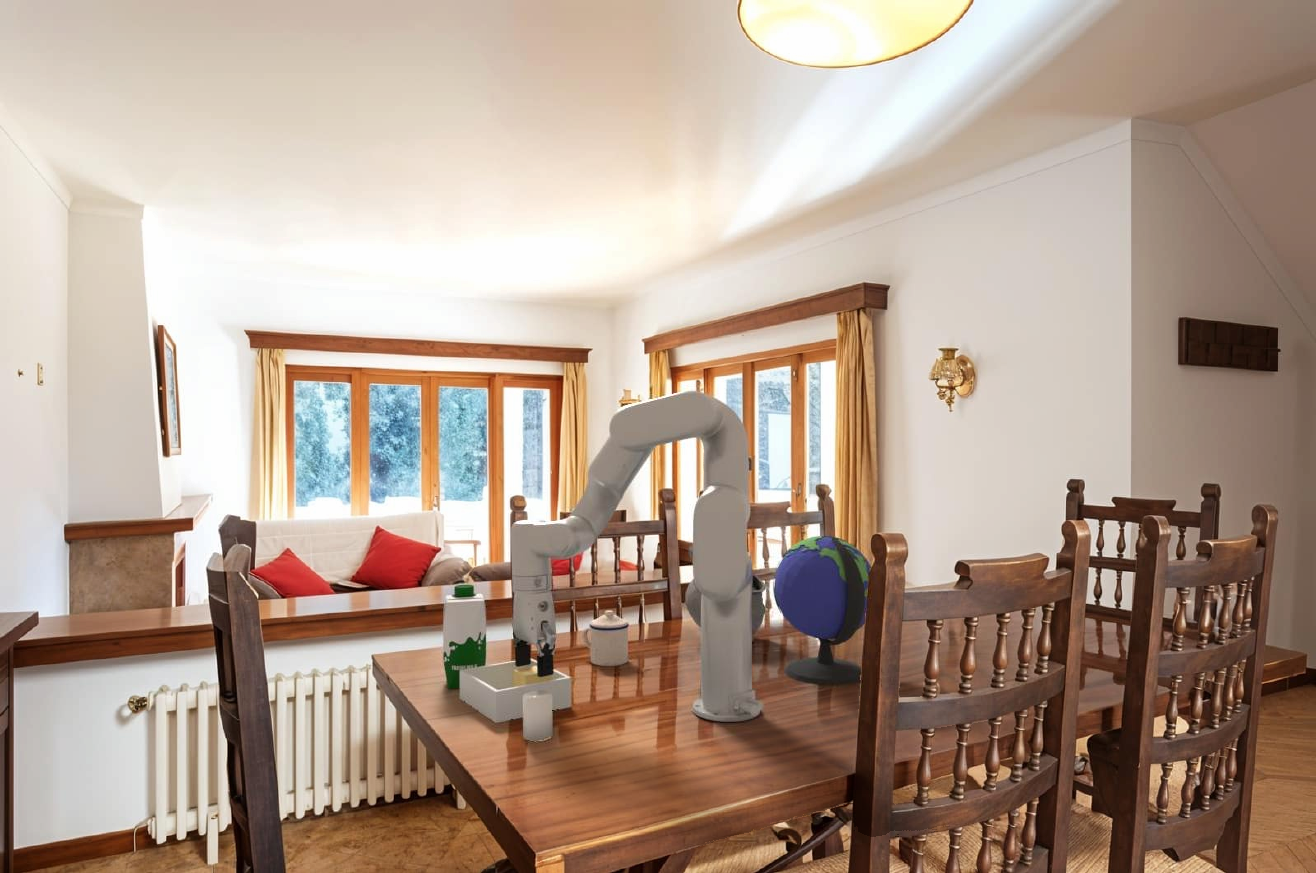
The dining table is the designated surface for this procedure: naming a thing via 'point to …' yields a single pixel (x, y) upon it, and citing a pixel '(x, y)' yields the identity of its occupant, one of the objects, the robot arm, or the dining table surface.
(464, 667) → the milk carton
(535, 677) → the mustard block
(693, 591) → the pot
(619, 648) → the teacup with lid
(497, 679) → the tote
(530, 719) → the white canister
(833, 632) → the globe
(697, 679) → the dining table surface
